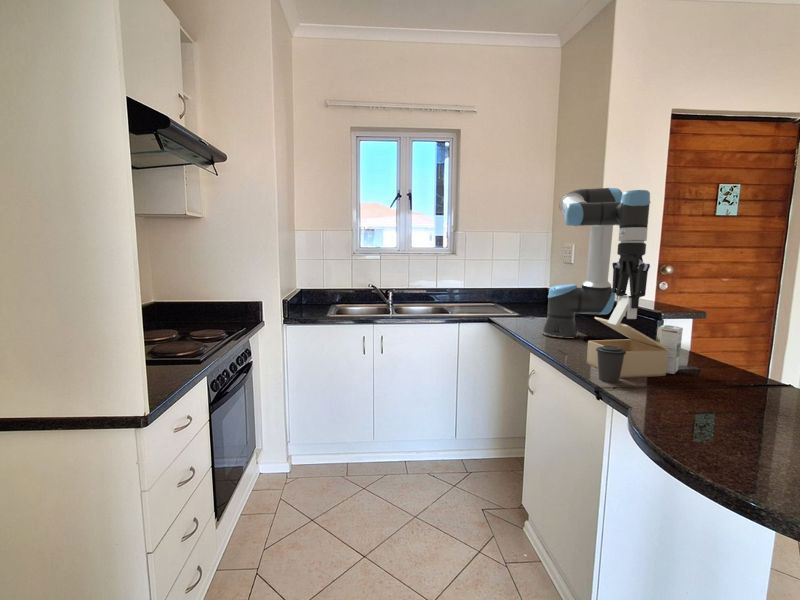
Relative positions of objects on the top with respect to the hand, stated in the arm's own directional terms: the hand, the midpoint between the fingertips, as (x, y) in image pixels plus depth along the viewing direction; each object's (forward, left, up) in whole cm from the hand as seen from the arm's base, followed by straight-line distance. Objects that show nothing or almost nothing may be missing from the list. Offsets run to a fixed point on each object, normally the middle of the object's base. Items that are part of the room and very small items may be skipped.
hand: (626, 317), depth 124 cm
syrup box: (+1, +15, -18) cm, 23 cm away
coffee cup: (+6, -9, -18) cm, 21 cm away
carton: (-3, +3, -18) cm, 18 cm away
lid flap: (-3, +3, -6) cm, 7 cm away
